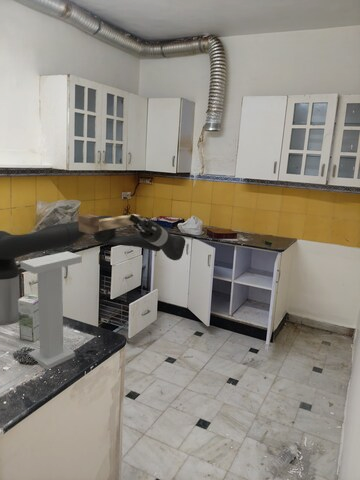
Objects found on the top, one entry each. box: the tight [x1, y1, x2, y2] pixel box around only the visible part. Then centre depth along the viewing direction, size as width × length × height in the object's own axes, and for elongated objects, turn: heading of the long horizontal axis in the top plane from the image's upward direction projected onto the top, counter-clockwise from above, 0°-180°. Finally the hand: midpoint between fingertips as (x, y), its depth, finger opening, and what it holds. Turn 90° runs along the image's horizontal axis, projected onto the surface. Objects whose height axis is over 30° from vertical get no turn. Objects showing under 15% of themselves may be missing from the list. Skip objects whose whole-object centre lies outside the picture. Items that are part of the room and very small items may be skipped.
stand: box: [20, 251, 83, 371], centre depth 117 cm, size 16×10×32 cm, turn 143°
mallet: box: [78, 213, 141, 235], centre depth 129 cm, size 24×5×5 cm, turn 143°
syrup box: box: [18, 294, 40, 343], centre depth 129 cm, size 6×6×14 cm
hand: (127, 216), depth 134 cm, fingers closed on mallet, 3 cm apart
